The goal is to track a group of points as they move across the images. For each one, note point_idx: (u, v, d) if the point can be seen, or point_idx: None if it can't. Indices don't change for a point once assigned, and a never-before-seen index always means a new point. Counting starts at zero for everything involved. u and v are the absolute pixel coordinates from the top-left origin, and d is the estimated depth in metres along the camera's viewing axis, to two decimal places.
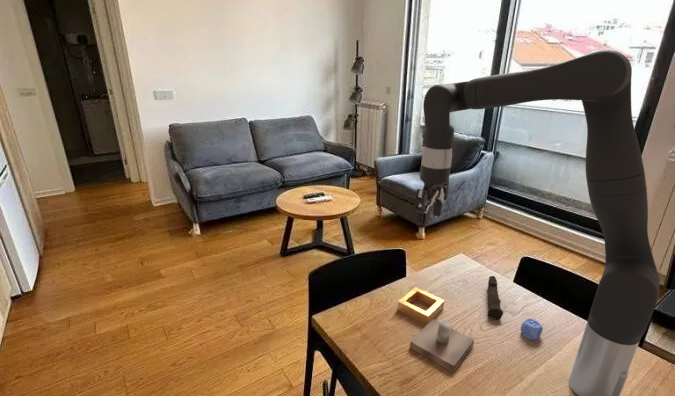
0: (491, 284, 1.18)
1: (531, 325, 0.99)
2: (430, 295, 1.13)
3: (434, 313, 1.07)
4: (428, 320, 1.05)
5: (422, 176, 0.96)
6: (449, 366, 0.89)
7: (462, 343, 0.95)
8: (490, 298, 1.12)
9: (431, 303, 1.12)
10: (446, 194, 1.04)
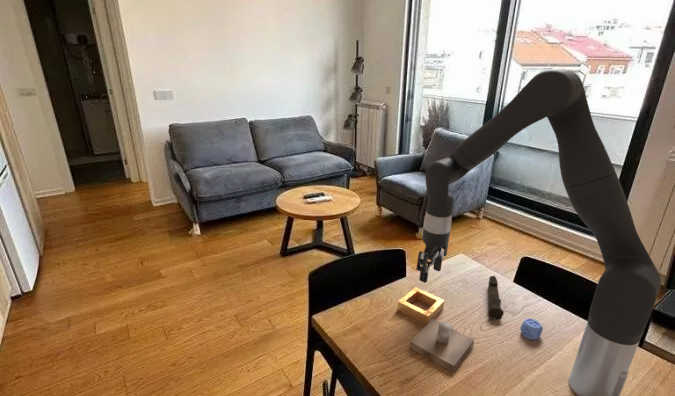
0: (491, 284, 1.18)
1: (531, 325, 0.99)
2: (430, 295, 1.13)
3: (434, 313, 1.07)
4: (428, 320, 1.05)
5: (424, 239, 1.05)
6: (449, 366, 0.89)
7: (462, 343, 0.95)
8: (490, 298, 1.12)
9: (431, 303, 1.12)
10: (446, 251, 1.12)
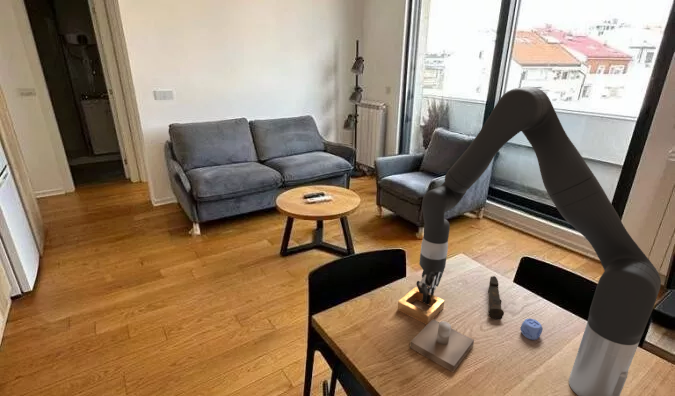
0: (492, 284, 1.18)
1: (531, 325, 0.99)
2: None
3: (435, 313, 1.07)
4: (428, 320, 1.05)
5: (421, 264, 1.08)
6: (449, 366, 0.89)
7: (462, 343, 0.95)
8: (491, 298, 1.12)
9: (431, 303, 1.12)
10: (438, 281, 1.14)
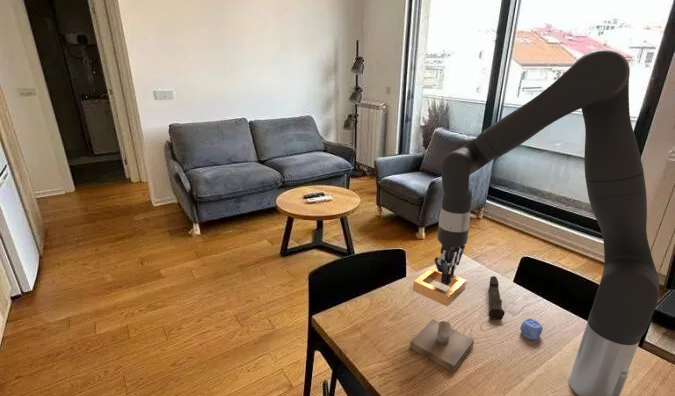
0: (492, 284, 1.17)
1: (531, 325, 0.99)
2: None
3: (455, 294, 0.95)
4: (449, 301, 0.92)
5: (440, 238, 0.95)
6: (449, 366, 0.89)
7: (462, 343, 0.95)
8: (491, 298, 1.12)
9: (451, 284, 1.00)
10: (459, 259, 1.01)
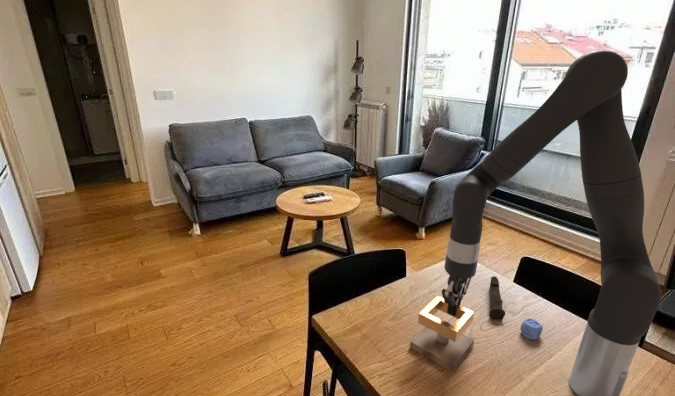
0: (493, 284, 1.17)
1: (531, 325, 0.99)
2: None
3: (463, 328, 0.90)
4: (456, 336, 0.87)
5: (447, 268, 0.90)
6: (449, 366, 0.89)
7: (462, 343, 0.95)
8: (492, 298, 1.12)
9: (458, 315, 0.95)
10: (466, 288, 0.97)
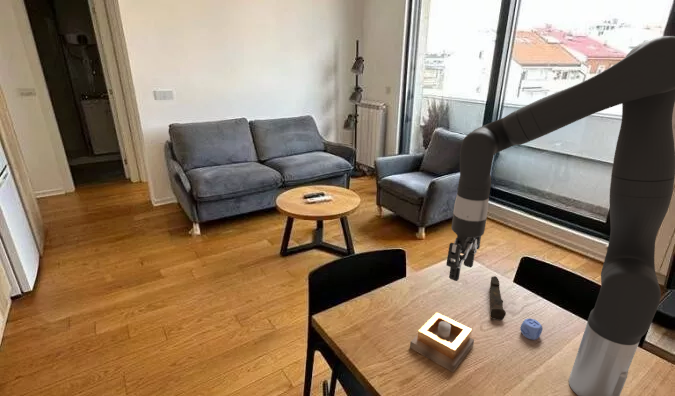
0: (493, 284, 1.17)
1: (531, 325, 0.99)
2: (454, 322, 0.98)
3: (461, 345, 0.93)
4: (454, 354, 0.90)
5: (455, 228, 0.87)
6: (449, 366, 0.89)
7: None
8: (492, 298, 1.12)
9: (456, 332, 0.98)
10: (479, 243, 0.94)
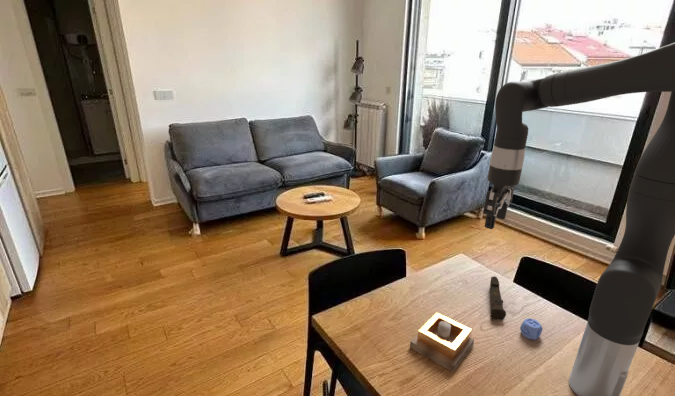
0: (493, 285, 1.17)
1: (531, 325, 0.99)
2: (454, 322, 0.98)
3: (461, 345, 0.93)
4: (454, 354, 0.90)
5: (491, 178, 0.92)
6: (449, 366, 0.89)
7: None
8: (493, 299, 1.12)
9: (456, 332, 0.98)
10: (511, 196, 1.00)
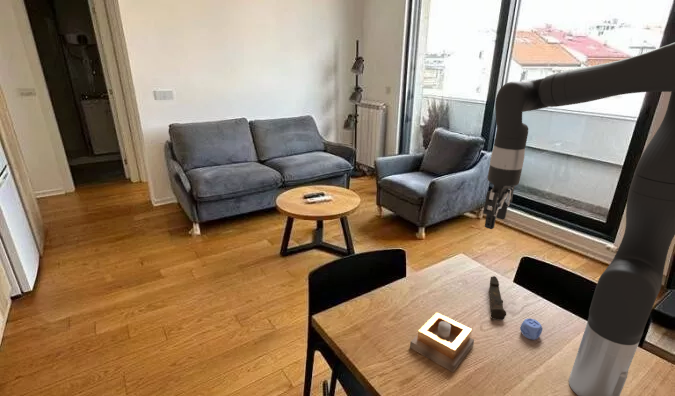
0: (493, 284, 1.17)
1: (531, 325, 0.99)
2: (454, 322, 0.98)
3: (461, 345, 0.93)
4: (454, 354, 0.90)
5: (492, 178, 0.92)
6: (449, 366, 0.89)
7: None
8: (492, 299, 1.12)
9: (456, 332, 0.98)
10: (511, 196, 1.00)
